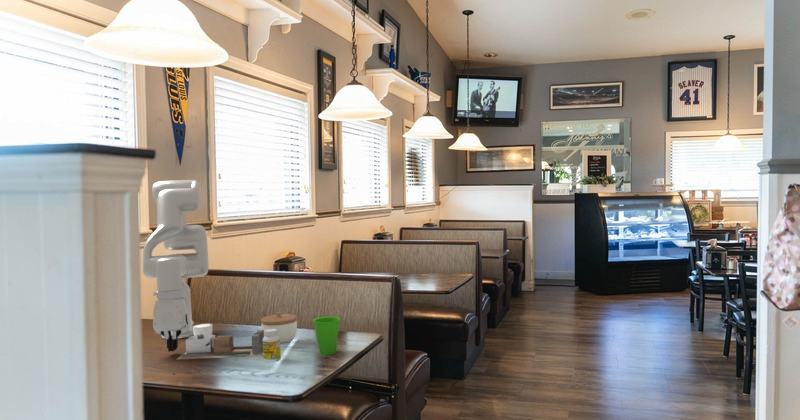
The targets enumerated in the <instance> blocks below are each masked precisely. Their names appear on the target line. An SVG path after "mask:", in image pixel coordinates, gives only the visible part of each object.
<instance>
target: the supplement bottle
mask: <svg viewBox="0 0 800 420" xmlns="http://www.w3.org/2000/svg"><path fill="white" fill-rule="evenodd" d="M264 335H265V337H264V338H263V350H262V354H263V359H266V360H267V359H268V360H272V359H276V362H279V361H280V360H281V358H282V353H281V343H280V337H279V336H278V335H277V329H267V330H265V331H264Z"/></svg>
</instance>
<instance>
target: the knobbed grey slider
mask: <svg viewBox="0 0 800 420" xmlns="http://www.w3.org/2000/svg"><path fill="white" fill-rule="evenodd" d="M215 338H216V335H215V334H212V335H204V334H199V335H197V336H194V335H193V336H190V337H187V338H186V339H185V352H186V354H197V353H213V352H214V346H213V339H215Z"/></svg>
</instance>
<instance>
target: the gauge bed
mask: <svg viewBox="0 0 800 420" xmlns="http://www.w3.org/2000/svg"><path fill="white" fill-rule="evenodd" d="M263 338H264V330H262V329H258V330H256V331H255V333H253V334H252V335H251V345H239V346H234V350H233V351H232V352H222V353H214V352H213V353H197V354H186V351H185V352H184V353H182V354H181V355H179V357H177V358H176V360H196V359H197V360H198V359H200V360H201V359H218V358H219V359H220V358H221V359H225V358H244V357H246V358H247V357H250V358H251V357H258V356H259V355H260V354H261V353H262V352H263Z"/></svg>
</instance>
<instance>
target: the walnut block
mask: <svg viewBox="0 0 800 420" xmlns="http://www.w3.org/2000/svg"><path fill="white" fill-rule="evenodd" d="M234 345H235V344H234V334H233V335H232V334H231V335H217V336H215V339H213V346H214V353H222V352H232V351H233V350H234V347H235V346H234Z"/></svg>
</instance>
